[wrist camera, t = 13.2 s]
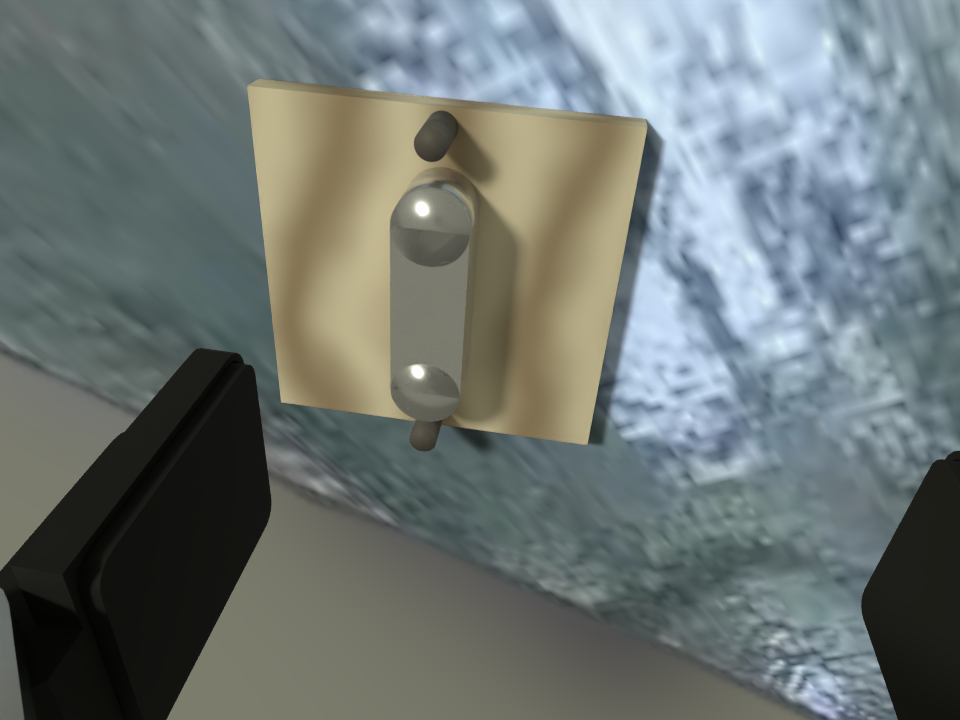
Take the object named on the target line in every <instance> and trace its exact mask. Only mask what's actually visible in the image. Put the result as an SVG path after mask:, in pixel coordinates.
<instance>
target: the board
mask: <svg viewBox="0 0 960 720" xmlns="http://www.w3.org/2000/svg"><path fill="white" fill-rule="evenodd" d="M247 87H248V97H249V106H250V115H251V125H252V134H253V143H254V152H255V162H256V171H257V180H258V190H259V199H260V208H261V218H262V227H263V236H264V246H265V255H266V264H267V274H268V283H269V292H270V302H271V311H272V320H273V329H274V339H275V348H276V357H277V367H278V376H279V385H280V395H281V402H284V403H291V404H298V405H305V406H312V407H319V408H326V409H334V410H341V411H348V412H355V413H362V414H369V415H376V416H384V417H391V418H398V419H405V420H412V421H415V424H414V426H413V429H412V432H411V435H410V443H411V445H412V446H413V447H414V448H415V449H417V450H420V451H429V450H432V449H433V448H434V447H435V444H436V441H437V437H438V434H439V431H440V427H441V425H448V426H455V427H462V428H469V429H476V430H483V431H491V432H498V433H505V434H512V435H519V436H526V437H533V438H541V439H548V440H555V441H562V442H569V443H576V444H583V445H587V444H588V439H589V434H590V428H591V423H592V418H593V413H594V407H595V402H596V397H597V391H598V386H599V381H600V376H601V370H602V365H603V360H604V354H605V349H606V344H607V339H608V333H609V328H610V323H611V318H612V312H613V307H614V302H615V296H616V291H617V286H618V281H619V275H620V270H621V265H622V259H623V254H624V249H625V244H626V238H627V233H628V228H629V223H630V217H631V212H632V207H633V201H634V196H635V191H636V186H637V180H638V175H639V170H640V164H641V159H642V154H643V149H644V143H645V138H646V133H647V122H646V119H639V118H630V117H620V116H610V115H601V114H591V113H582V112H572V111H562V110H553V109H543V108H533V107H524V106H514V105H505V104H495V103H485V102H476V101H466V100H457V99H447V98H437V97H428V96H418V95H409V94H399V93H389V92H380V91H370V90H360V89H351V88H341V87H332V86H322V85H312V84H303V83H293V82H284V81H274V80H264V79H258V80H256V81H255V82H253V83H251V84H250V85H248V86H247ZM434 167H446V168H450V169H454V170H456V171H458V172H460V173H461V174H463V175H464V176H466V177H467V178H468V179H469V180H470V181H471V183H472V184H473V185H474V187H475V189H476V191H477V193H478V196H479V200H480V214H479V229H478V243H477V258H476V272H475V287H474V302H473V316H472V331H471V345H470V360H469V368H468V372H467V376H466V379H465V383H464V387H463V390H462V394H461V398H460V401H459V405H458V407H457V409H456V410H455V412H454V413H453V414H452V415H450V416H449V417H447V418H445V419H443V420H439V421H434V422H427V421H420V420H417V419H414V418H411V417H410V416H408V415H406V414H405V413H403V412H402V411H401V410H400V409H399V408H398V407H397V406H396V404H395V403H394V401H393V399H392V396H391V390H390V219H391V215H392V212H393V210H394V208H395V207H396V205H397V204H398V202H399V200H400V199H401V197H402V195H403V194H404V192H405V191H406V189H407V187H408V186H409V184H410V183H411V181H412V180H413V179H414V177H416V176H417V175H418V174H419V173H420V172H422V171H424V170H426V169H429V168H434Z"/></svg>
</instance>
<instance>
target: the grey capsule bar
mask: <svg viewBox="0 0 960 720" xmlns="http://www.w3.org/2000/svg"><path fill="white" fill-rule="evenodd" d="M479 214H480V200H479V196H478V193H477V191H476V189H475V187H474V185H473V184H472V183H471V181H470V180H469V179H468V178H467V177H466V176H464V175H463V174H461V173H460V172H458V171H456V170H454V169H450V168H446V167H434V168H429V169H426V170H424V171H422V172H420V173H419V174H418V175H417V176H416V177H414V179H413V180H412V181H411V183H410V184H409V186H408V187H407V189H406V191H405V192H404V194H403V195H402V197H401V199H400V200H399V202H398V204H397V205H396V207H395V208H394V210H393V212H392V215H391V219H390V390H391V396H392V399H393V401H394V403H395V404H396V406H397V407H398V408H399V409H400V410H401V411H402V412H403V413H405V414H406V415H408V416H410V417H411V418H414V419H417V420H420V421H427V422H434V421H439V420H443V419H445V418H447V417H449V416H450V415H452V414H453V413H454V412H455V410H456V409H457V407H458V405H459V401H460V398H461V394H462V390H463V387H464V383H465V379H466V376H467V372H468V368H469V360H470V345H471V331H472V316H473V302H474V287H475V272H476V258H477V243H478V229H479Z"/></svg>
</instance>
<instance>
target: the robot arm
mask: <svg viewBox="0 0 960 720" xmlns="http://www.w3.org/2000/svg"><path fill="white" fill-rule="evenodd" d="M270 512H271V494H270V486H269V478H268V470H267V462H266V455H265V447H264V439H263V431H262V424H261V416H260V408H259V400H258V392H257V385H256V377H255V372H254V369H253V367H252V366H251V365H246V364H244V362H243V359H242V357H241V355H240V354H238V353H233V352H225V351H218V350H211V349H203V348H200V349H196V350H195V351H194V352H193V353H192V354H191V355H190V356H189V357H188V358H187V360H186V361H185V362H184V363H183V364H182V365H181V367H180V368H179V369H178V370H177V371H176V372H175V374H174V375H173V376H172V377H171V378H170V379H169V381H168V382H167V383H166V384H165V385H164V386H163V388H162V389H161V390H160V391H159V392H158V394H157V395H156V396H155V397H154V398H153V399H152V401H151V402H150V403H149V404H148V405H147V406H146V408H145V409H144V410H143V411H142V412H141V413H140V415H139V416H138V417H137V418H136V419H135V420H134V422H133V423H132V424H131V425H130V426H129V428H128V429H127V430H126V431H125V432H123V433H121V434H120V435H119V436H117V437H116V438H115V439H114V440H113V441H112V442H111V443H110V445H109V446H108V447H107V448H106V449H105V450H104V452H103V453H102V454H101V455H100V456H99V457H98V458H97V460H96V461H95V462H94V463H93V464H92V465H91V466H90V468H89V469H88V470H87V471H86V472H85V473H84V475H83V476H82V477H81V478H80V479H79V480H78V482H77V483H76V484H75V485H74V486H73V487H72V489H71V490H70V491H69V492H68V493H67V494H66V496H65V497H64V498H63V499H62V500H61V501H60V503H59V504H58V505H57V506H56V507H55V508H54V509H53V511H52V512H51V513H50V514H49V515H48V516H47V518H46V519H45V520H44V521H43V522H42V523H41V525H40V526H39V527H38V528H37V529H36V530H35V531H34V533H33V534H32V535H31V536H30V537H29V539H28V540H27V541H26V542H25V543H24V545H22V547H21V548H20V549H19V550H18V551H17V552H16V554H15V555H14V556H13V557H12V558H11V559H10V561H9V562H8V563H7V564H6V565H5V567H3V569H2V570H1V571H0V720H166V719H167V717H168V715H169V713H170V711H171V709H172V707H173V705H174V703H175V701H176V700H177V698H178V696H179V694H180V692H181V690H182V688H183V686H184V684H185V682H186V680H187V678H188V676H189V674H190V672H191V670H192V669H193V667H194V665H195V663H196V661H197V659H198V657H199V655H200V653H201V651H202V649H203V647H204V645H205V643H206V641H207V640H208V638H209V636H210V634H211V632H212V630H213V628H214V626H215V624H216V622H217V620H218V618H219V616H220V614H221V613H222V611H223V609H224V607H225V605H226V603H227V601H228V599H229V597H230V595H231V593H232V591H233V589H234V587H235V585H236V583H237V582H238V580H239V578H240V576H241V574H242V572H243V570H244V568H245V566H246V564H247V562H248V560H249V558H250V556H251V554H252V552H253V550H254V548H255V547H256V545H257V543H258V541H259V539H260V537H261V535H262V533H263V531H264V529H265V527H266V525H267V523H268V519H269V517H270ZM861 607H862V615H863V619H864V622H865V625H866V628H867V631H868V634H869V637H870V639H871V642H872V645H873V648H874V651H875V654H876V657H877V660H878V663H879V666H880V669H881V671H882V674H883V677H884V680H885V683H886V686H887V689H888V692H889V695H890V698H891V701H892V703H893V706H894V709H895V712H896V715H897V718H898V720H960V451H954V452H952V453H951V454H950V455H948V456H947V458H946V459H945V460H943V459H941V460H937V461H935V462H934V463H933V464H932V466H931V467H930V469H929V471H928V473H927V474H926V476H925V478H924V480H923V482H922V484H921V485H920V487H919V489H918V491H917V493H916V495H915V497H914V498H913V500H912V502H911V504H910V506H909V508H908V510H907V511H906V513H905V515H904V517H903V519H902V521H901V523H900V524H899V526H898V528H897V530H896V532H895V534H894V536H893V537H892V539H891V541H890V543H889V545H888V547H887V549H886V550H885V552H884V554H883V556H882V558H881V560H880V562H879V563H878V565H877V567H876V569H875V571H874V573H873V575H872V576H871V578H870V580H869V582H868V584H867V586H866V588H865V590H864V592H863V596H862V605H861Z"/></svg>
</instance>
